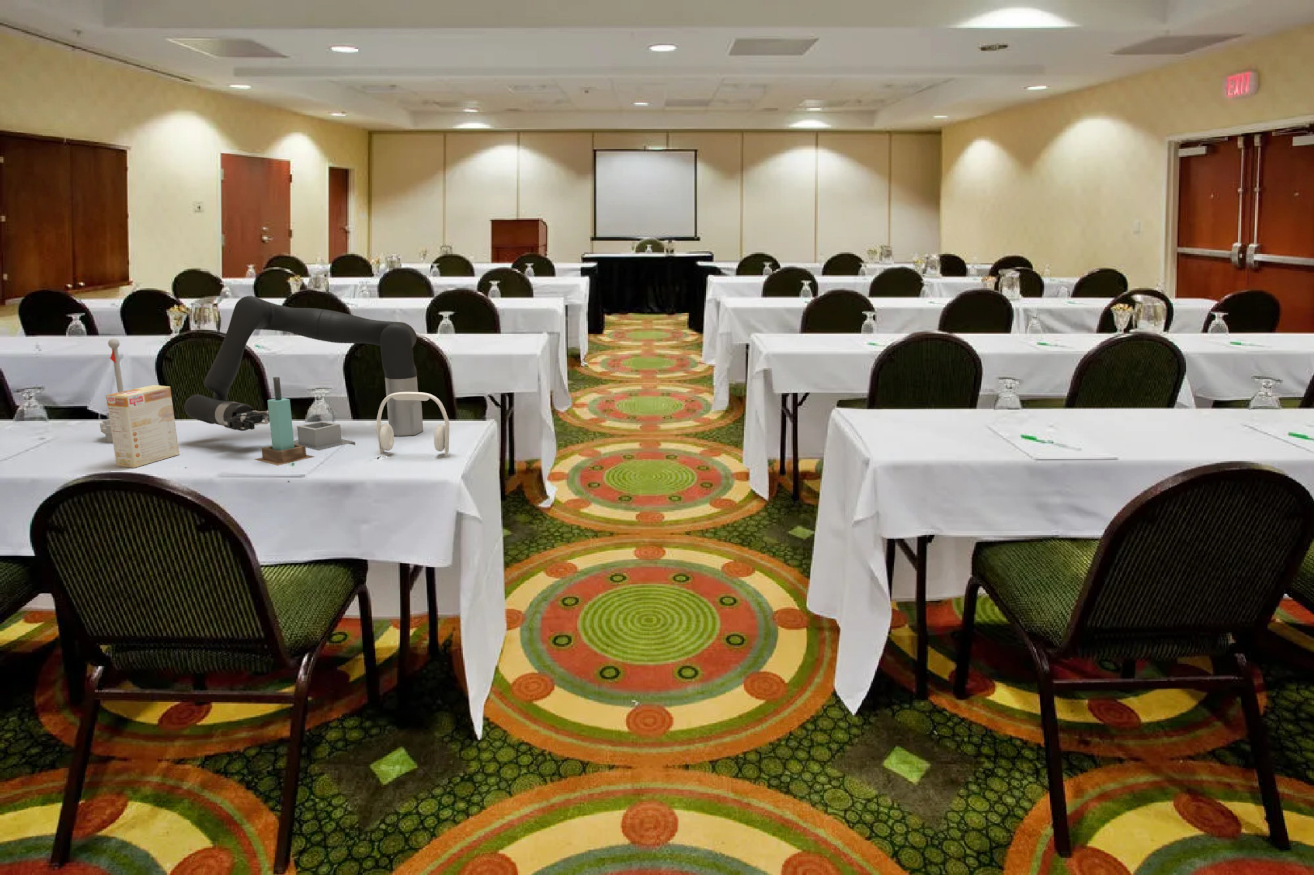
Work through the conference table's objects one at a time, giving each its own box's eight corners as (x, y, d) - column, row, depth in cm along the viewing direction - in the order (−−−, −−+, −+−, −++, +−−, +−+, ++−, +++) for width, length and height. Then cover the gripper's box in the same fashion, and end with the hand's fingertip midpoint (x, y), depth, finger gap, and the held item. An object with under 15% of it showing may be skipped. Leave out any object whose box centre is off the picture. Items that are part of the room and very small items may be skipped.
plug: (286, 455, 261) (278, 375, 255) (295, 457, 258) (287, 377, 253) (273, 458, 257) (265, 377, 252) (282, 460, 255) (273, 379, 250)
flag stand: (109, 434, 291) (95, 336, 284) (156, 432, 294) (143, 334, 287) (96, 444, 279) (80, 342, 272) (145, 441, 282) (131, 340, 275)
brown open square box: (291, 454, 266) (289, 440, 265) (314, 460, 259) (313, 445, 258) (254, 462, 257) (253, 448, 256) (278, 469, 251) (276, 454, 250)
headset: (454, 452, 266) (450, 389, 262) (447, 459, 259) (443, 394, 255) (383, 452, 267) (378, 389, 263) (374, 458, 260) (369, 394, 256)
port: (321, 437, 285) (320, 418, 283) (355, 445, 275) (353, 424, 274) (285, 445, 275) (283, 425, 274) (319, 453, 266) (317, 432, 264)
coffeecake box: (161, 452, 269) (152, 384, 264) (180, 454, 266) (171, 385, 262) (114, 466, 255) (104, 394, 251) (134, 468, 253) (124, 395, 248)
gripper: (209, 407, 263) (241, 413, 253) (257, 398, 274) (290, 404, 264) (212, 433, 264) (245, 441, 255) (260, 424, 275) (292, 431, 266)
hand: (267, 422), depth 260 cm, fingers open, 8 cm apart
